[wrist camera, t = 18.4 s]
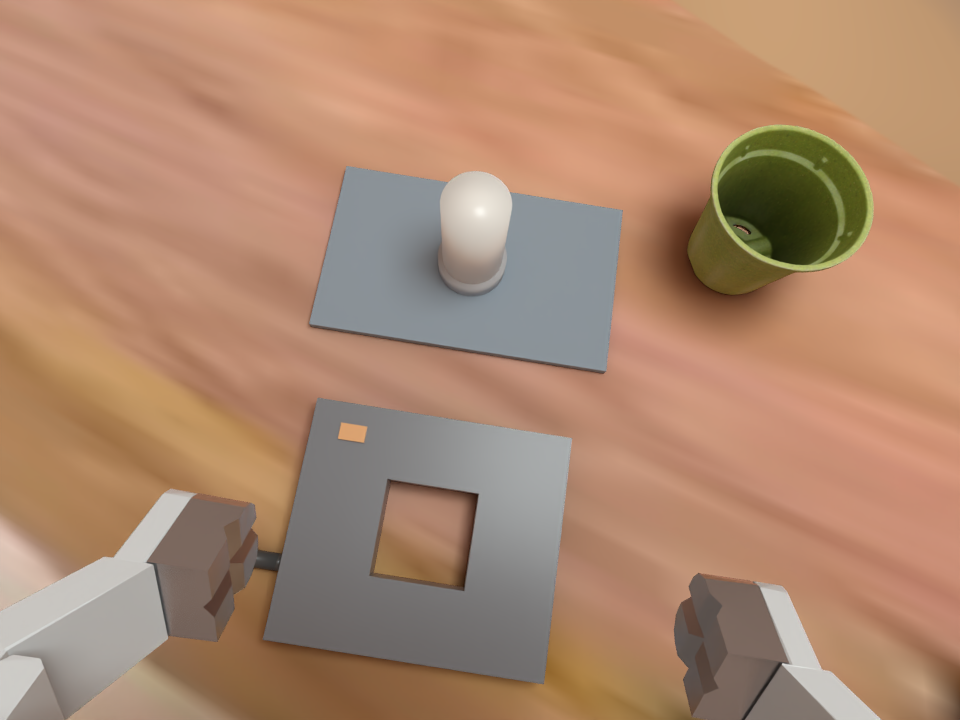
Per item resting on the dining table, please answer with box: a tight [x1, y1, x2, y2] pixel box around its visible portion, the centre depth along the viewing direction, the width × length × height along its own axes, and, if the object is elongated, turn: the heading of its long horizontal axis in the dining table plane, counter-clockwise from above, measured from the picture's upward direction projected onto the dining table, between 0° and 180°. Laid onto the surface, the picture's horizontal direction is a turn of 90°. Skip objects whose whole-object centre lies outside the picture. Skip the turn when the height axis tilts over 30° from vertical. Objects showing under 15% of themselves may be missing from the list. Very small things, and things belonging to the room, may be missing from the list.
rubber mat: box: [309, 166, 623, 373], centre depth 42 cm, size 20×12×1 cm, turn 81°
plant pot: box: [687, 125, 873, 295], centre depth 39 cm, size 9×9×9 cm
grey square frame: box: [254, 398, 572, 684], centre depth 36 cm, size 21×14×2 cm, turn 81°
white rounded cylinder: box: [438, 171, 512, 297], centre depth 37 cm, size 5×5×8 cm
